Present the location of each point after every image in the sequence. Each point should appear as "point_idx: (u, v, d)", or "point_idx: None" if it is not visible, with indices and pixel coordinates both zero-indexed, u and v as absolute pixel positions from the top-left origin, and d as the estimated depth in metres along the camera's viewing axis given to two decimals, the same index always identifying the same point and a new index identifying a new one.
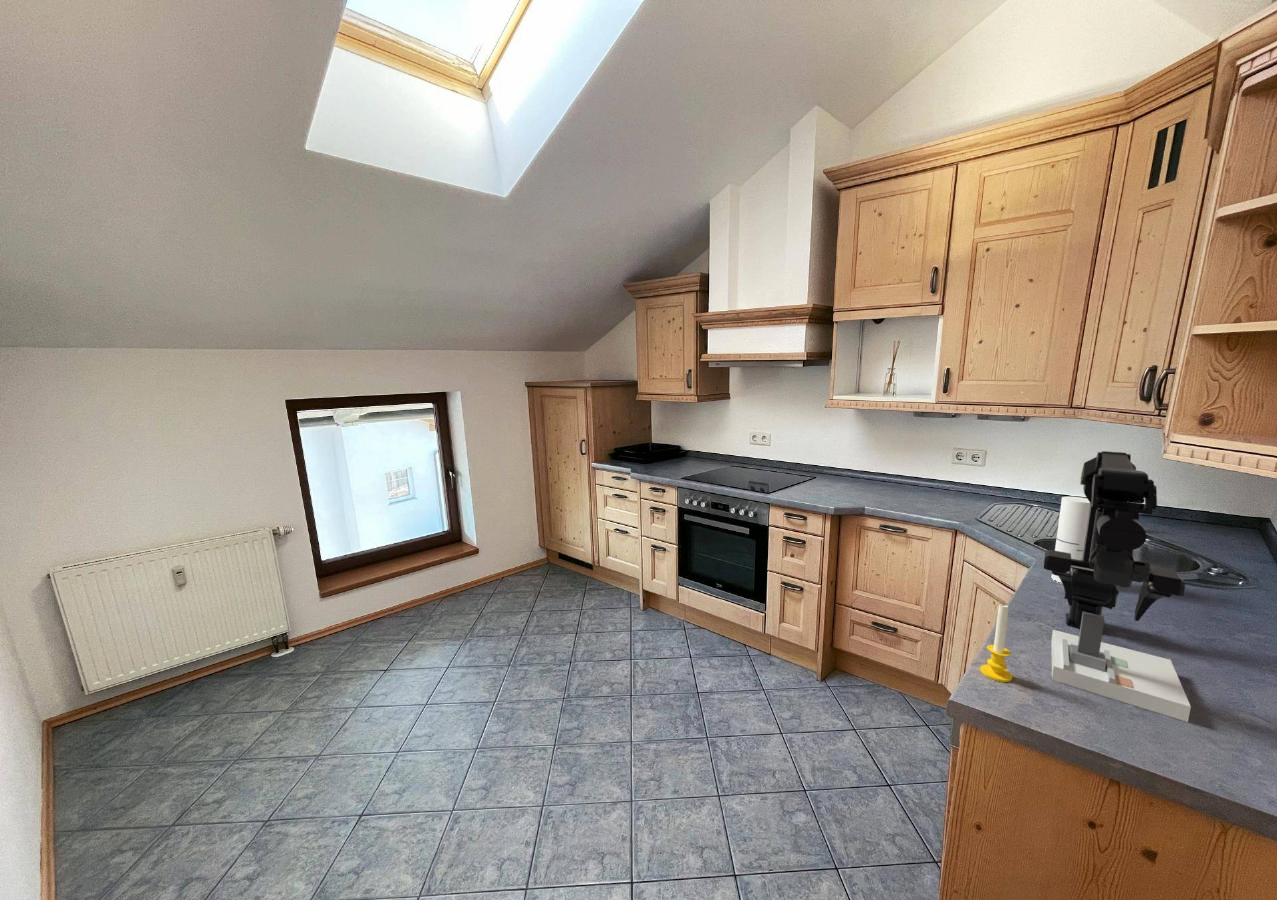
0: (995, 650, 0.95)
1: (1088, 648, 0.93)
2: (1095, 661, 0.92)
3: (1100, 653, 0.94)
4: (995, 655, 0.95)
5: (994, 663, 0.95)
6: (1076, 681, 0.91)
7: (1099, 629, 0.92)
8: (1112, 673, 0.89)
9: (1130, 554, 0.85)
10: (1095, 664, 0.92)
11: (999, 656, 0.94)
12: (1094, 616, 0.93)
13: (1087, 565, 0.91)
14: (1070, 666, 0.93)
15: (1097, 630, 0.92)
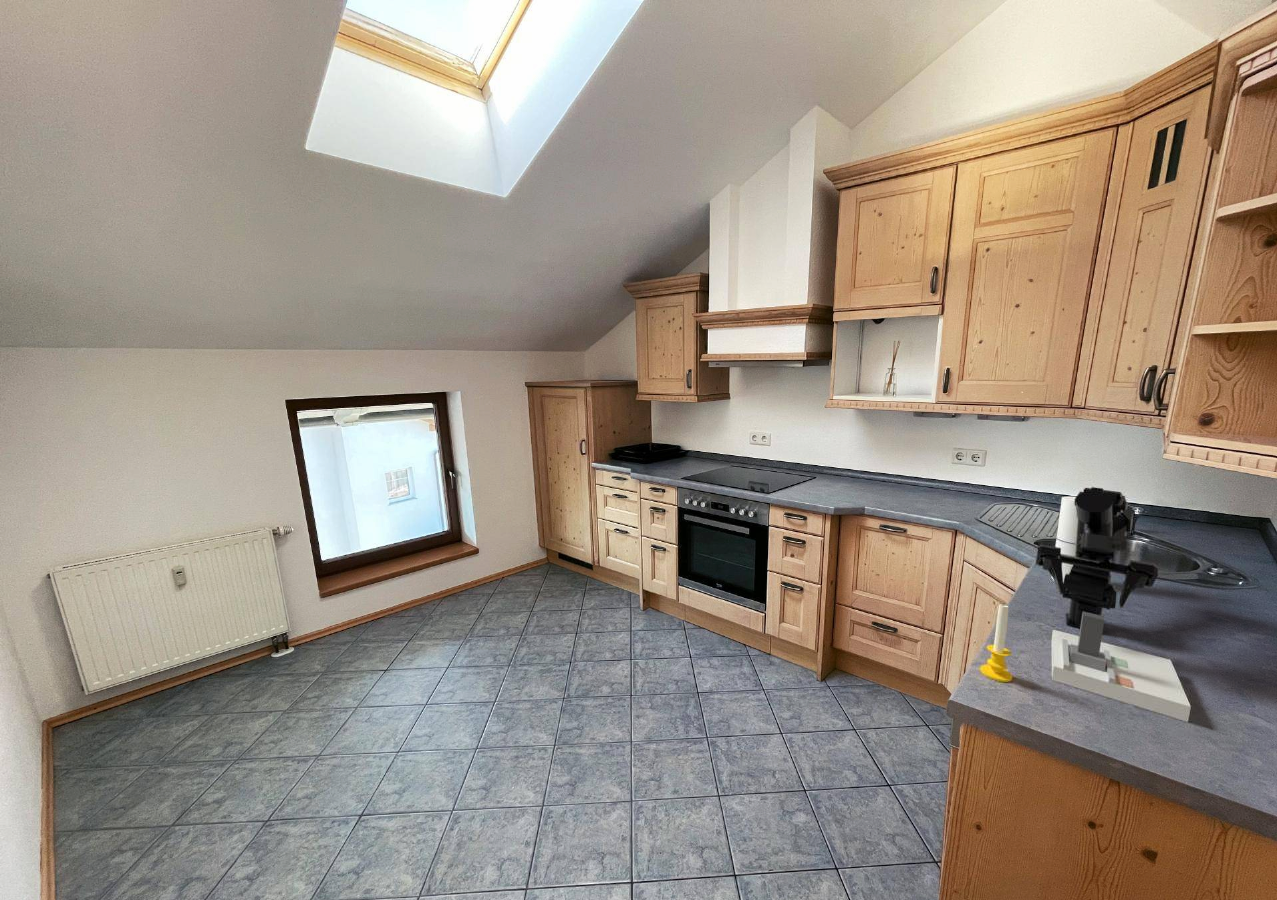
0: (995, 650, 0.95)
1: (1088, 648, 0.93)
2: (1095, 661, 0.92)
3: (1100, 653, 0.94)
4: (995, 655, 0.95)
5: (994, 663, 0.95)
6: (1076, 681, 0.91)
7: (1099, 629, 0.92)
8: (1112, 673, 0.89)
9: None
10: (1095, 664, 0.92)
11: (999, 656, 0.94)
12: (1094, 616, 0.93)
13: None
14: (1070, 666, 0.93)
15: (1097, 630, 0.92)
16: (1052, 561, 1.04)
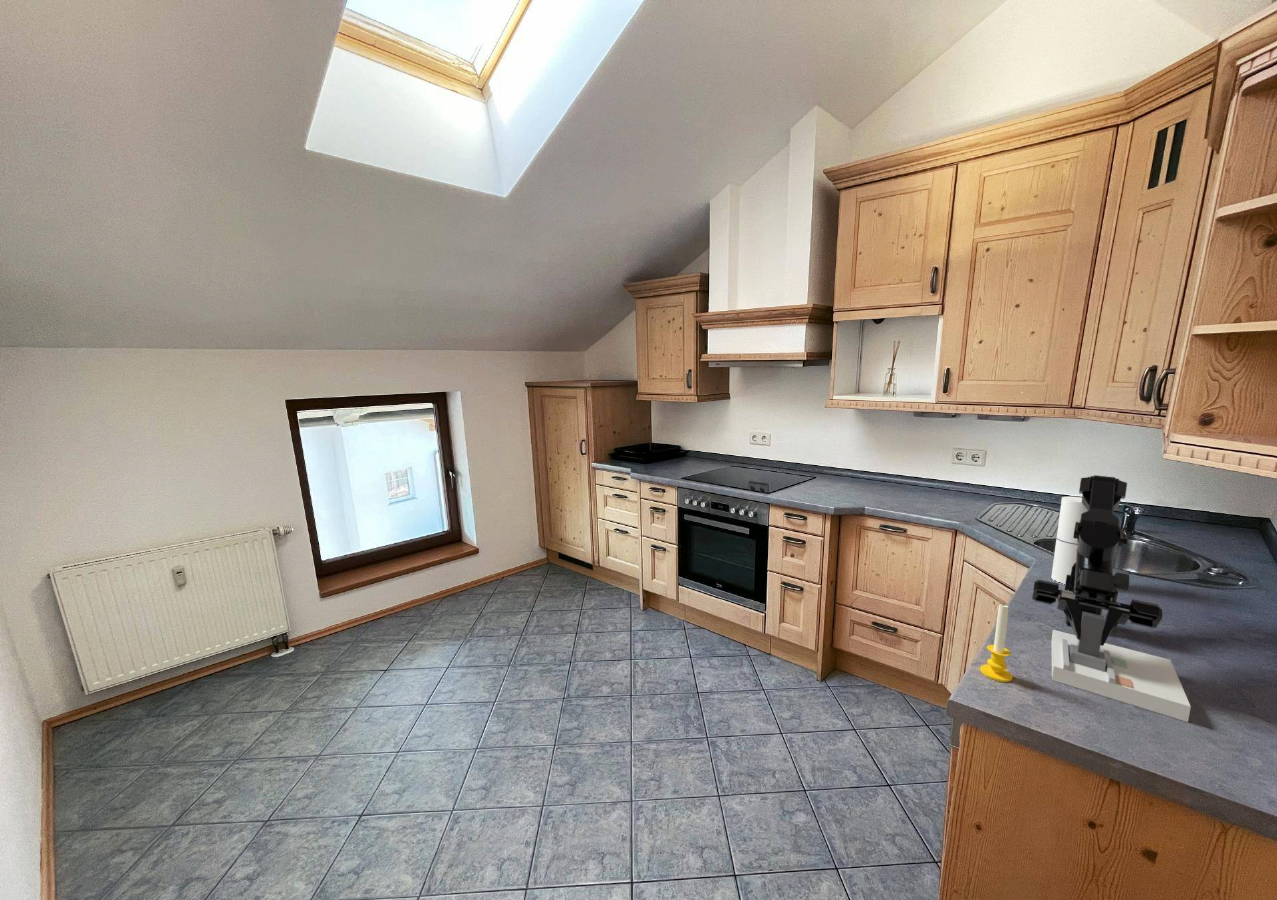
0: (995, 650, 0.95)
1: (1088, 648, 0.93)
2: (1095, 661, 0.92)
3: (1100, 653, 0.94)
4: (995, 655, 0.95)
5: (994, 663, 0.95)
6: (1076, 681, 0.91)
7: (1099, 629, 0.92)
8: (1112, 673, 0.89)
9: None
10: (1095, 664, 0.92)
11: (999, 656, 0.94)
12: (1094, 616, 0.93)
13: None
14: (1070, 666, 0.93)
15: (1097, 630, 0.92)
16: (1068, 602, 0.96)
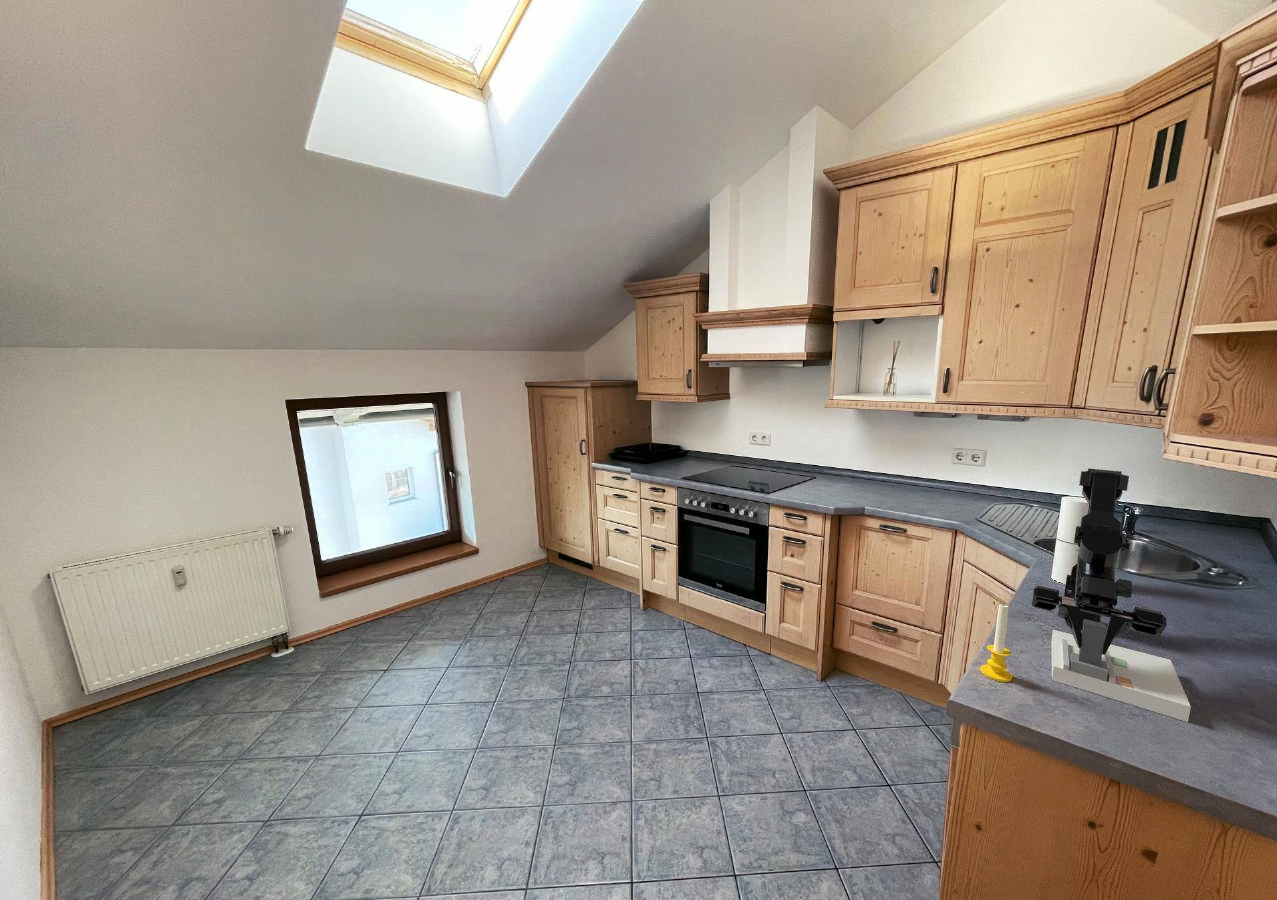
0: (995, 650, 0.95)
1: (1089, 657, 0.90)
2: (1097, 670, 0.89)
3: (1102, 662, 0.91)
4: (995, 655, 0.95)
5: (994, 663, 0.95)
6: (1076, 681, 0.91)
7: (1101, 637, 0.89)
8: (1112, 673, 0.89)
9: None
10: (1097, 674, 0.89)
11: (999, 656, 0.94)
12: (1096, 624, 0.90)
13: None
14: None
15: (1098, 639, 0.89)
16: (1069, 609, 0.93)
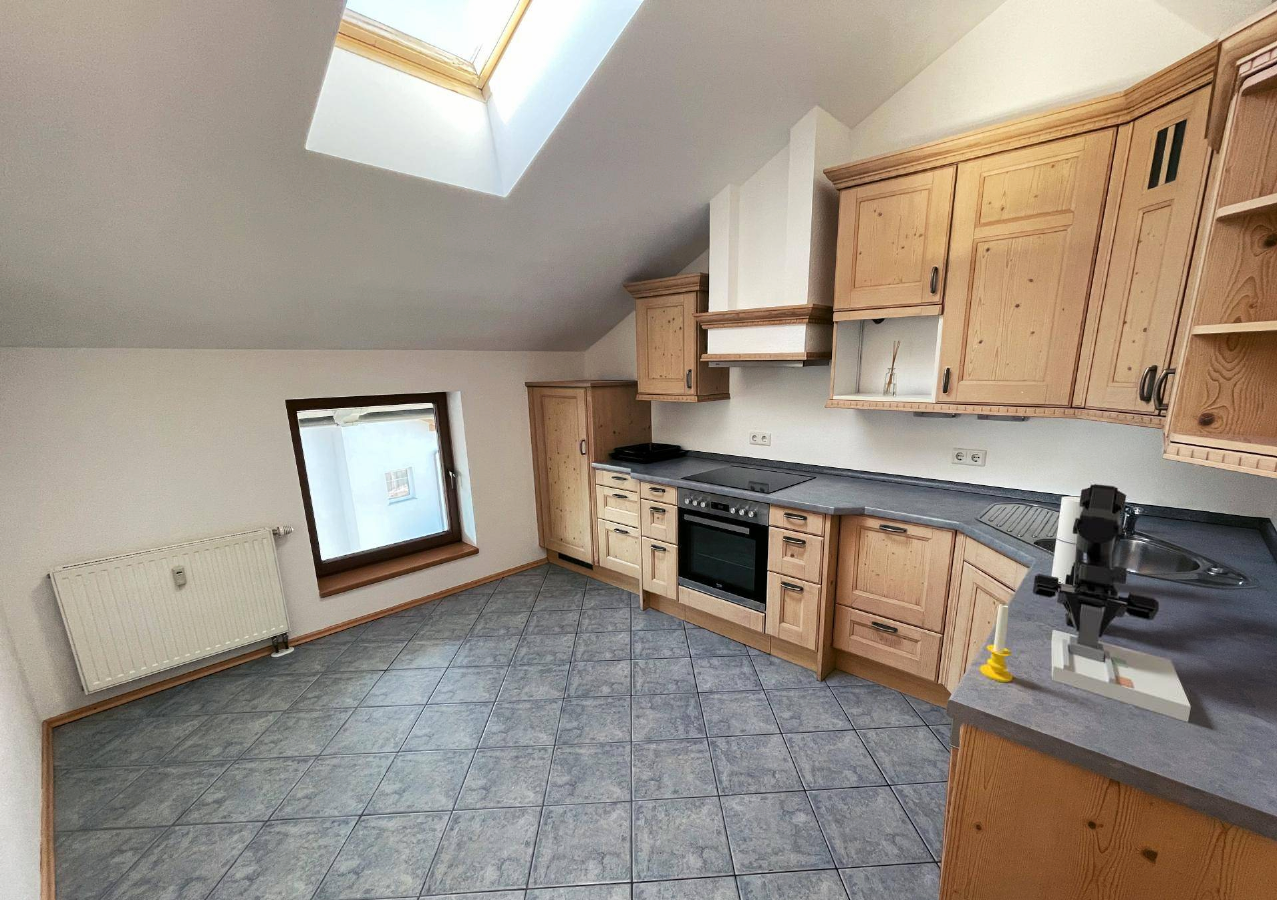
0: (995, 650, 0.95)
1: (1086, 640, 0.96)
2: (1094, 652, 0.95)
3: (1098, 644, 0.97)
4: (995, 655, 0.95)
5: (994, 663, 0.95)
6: (1076, 681, 0.91)
7: (1097, 621, 0.95)
8: (1112, 673, 0.89)
9: None
10: (1093, 655, 0.95)
11: (999, 656, 0.94)
12: (1093, 609, 0.96)
13: None
14: (1070, 666, 0.93)
15: (1095, 622, 0.95)
16: (1067, 596, 0.99)
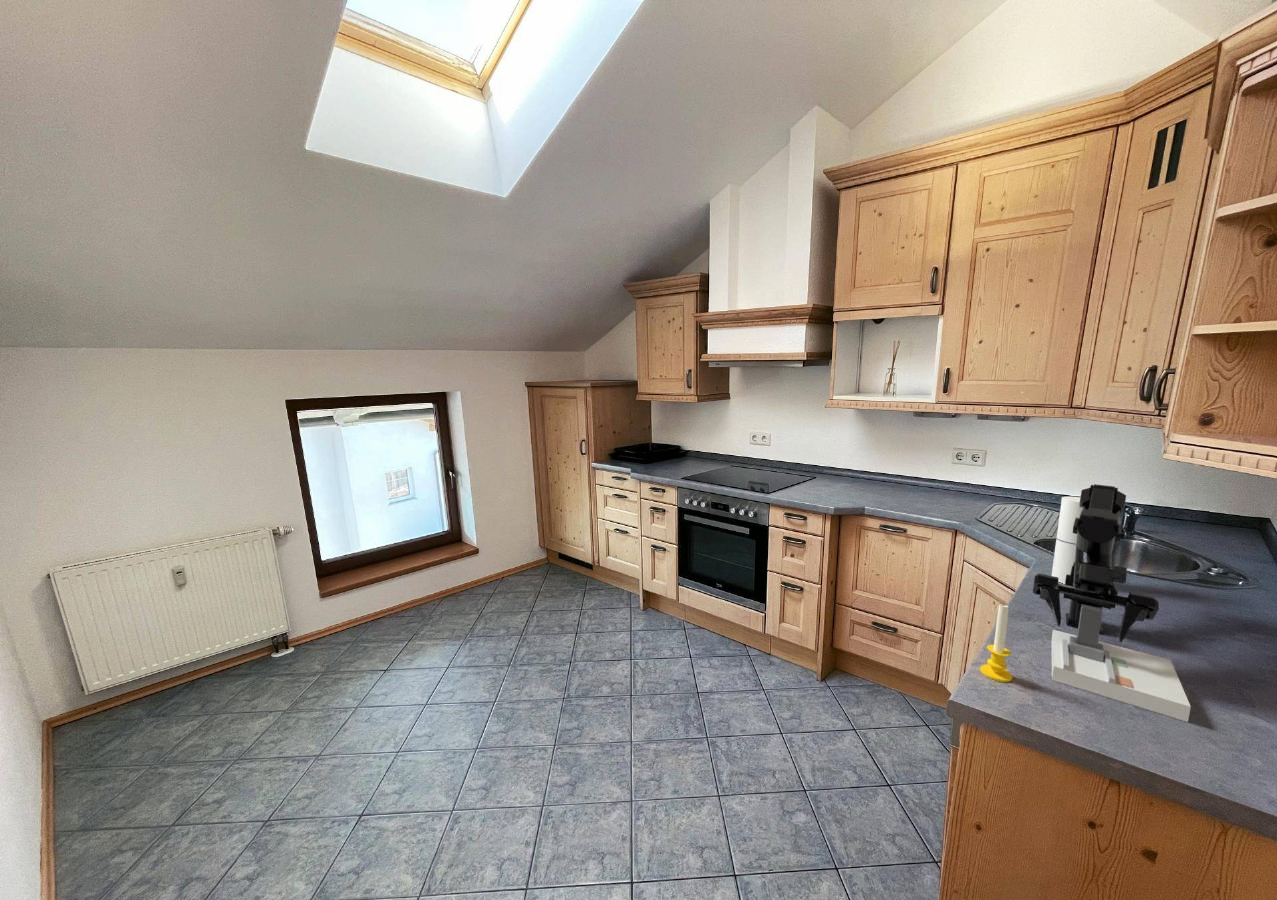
0: (995, 650, 0.95)
1: (1086, 640, 0.96)
2: (1094, 652, 0.95)
3: (1098, 644, 0.97)
4: (995, 655, 0.95)
5: (994, 663, 0.95)
6: (1076, 681, 0.91)
7: (1097, 621, 0.95)
8: (1112, 673, 0.89)
9: None
10: (1093, 655, 0.95)
11: (999, 656, 0.94)
12: (1093, 608, 0.96)
13: None
14: (1070, 666, 0.93)
15: (1095, 622, 0.95)
16: (1049, 591, 1.01)
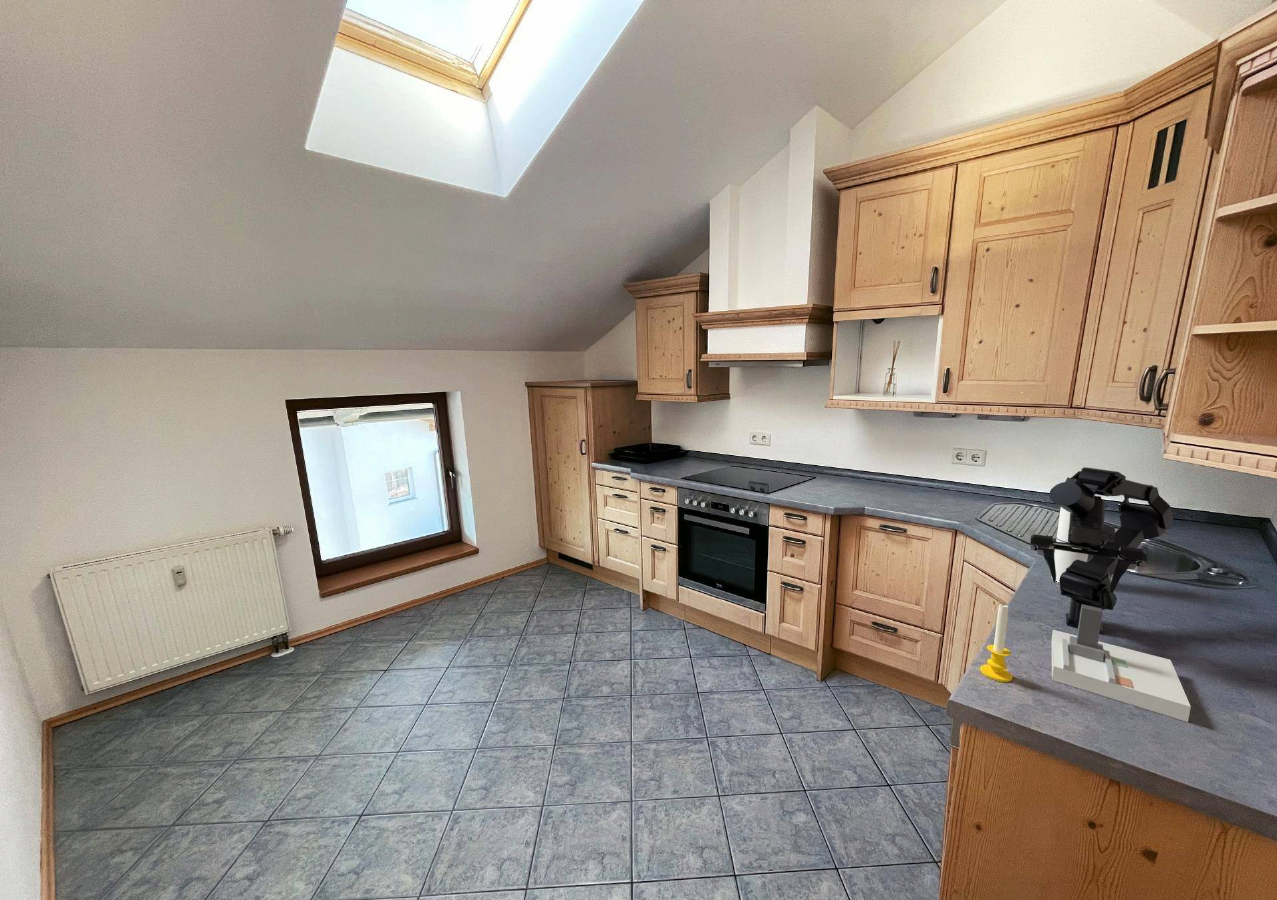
0: (995, 650, 0.95)
1: (1086, 640, 0.96)
2: (1094, 652, 0.95)
3: (1098, 644, 0.97)
4: (995, 655, 0.95)
5: (994, 663, 0.95)
6: (1076, 681, 0.91)
7: (1097, 621, 0.95)
8: (1112, 673, 0.89)
9: (1100, 527, 1.03)
10: (1093, 655, 0.95)
11: (999, 656, 0.94)
12: (1093, 608, 0.96)
13: (1066, 544, 1.08)
14: (1070, 666, 0.93)
15: (1095, 622, 0.95)
16: (1044, 551, 1.08)
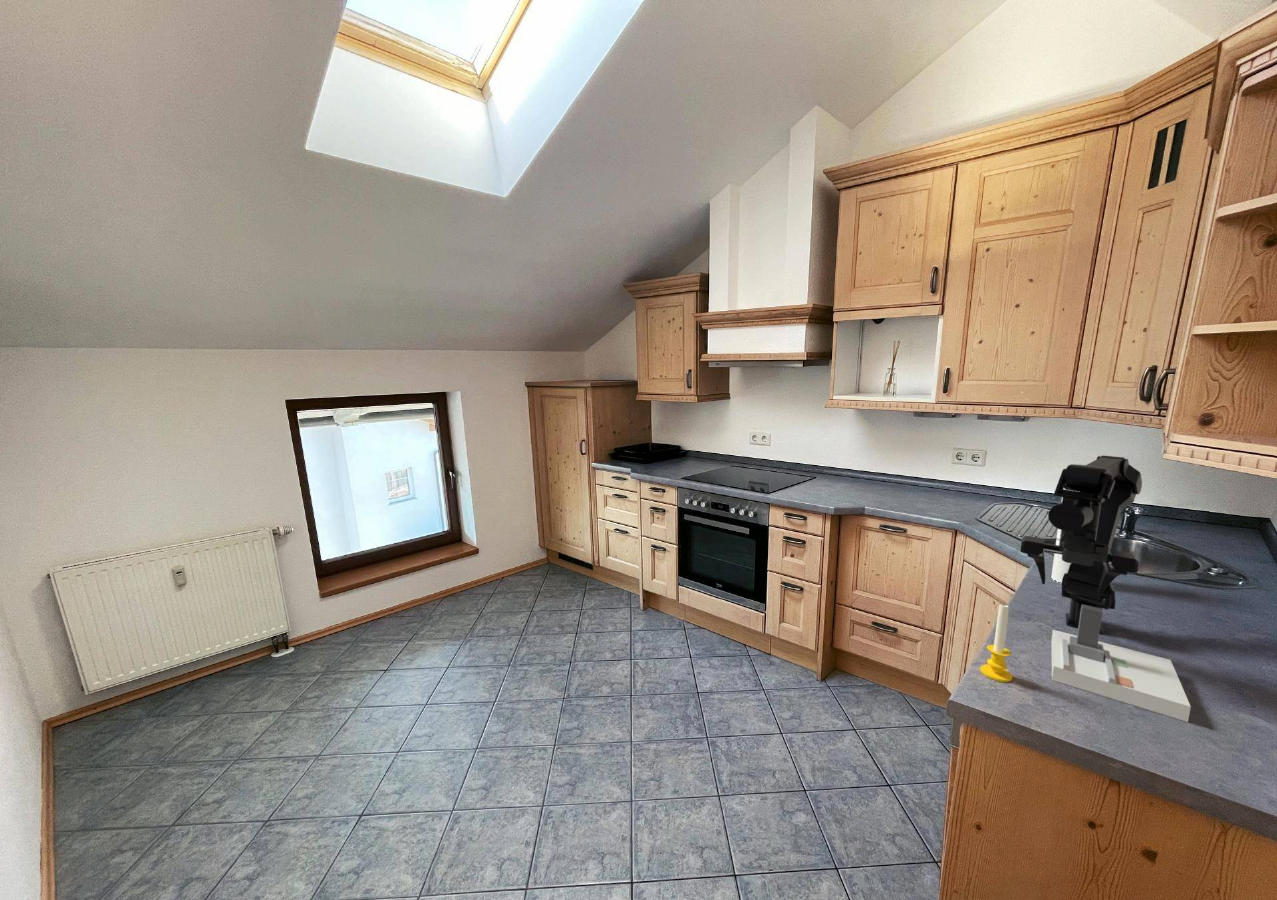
0: (995, 650, 0.95)
1: (1086, 640, 0.96)
2: (1094, 652, 0.95)
3: (1098, 644, 0.97)
4: (995, 655, 0.95)
5: (994, 663, 0.95)
6: (1076, 681, 0.91)
7: (1097, 621, 0.95)
8: (1112, 673, 0.89)
9: (1093, 538, 0.99)
10: (1093, 655, 0.95)
11: (999, 656, 0.94)
12: (1093, 608, 0.96)
13: (1057, 548, 1.05)
14: (1070, 666, 0.93)
15: (1095, 622, 0.95)
16: (1035, 559, 1.06)
